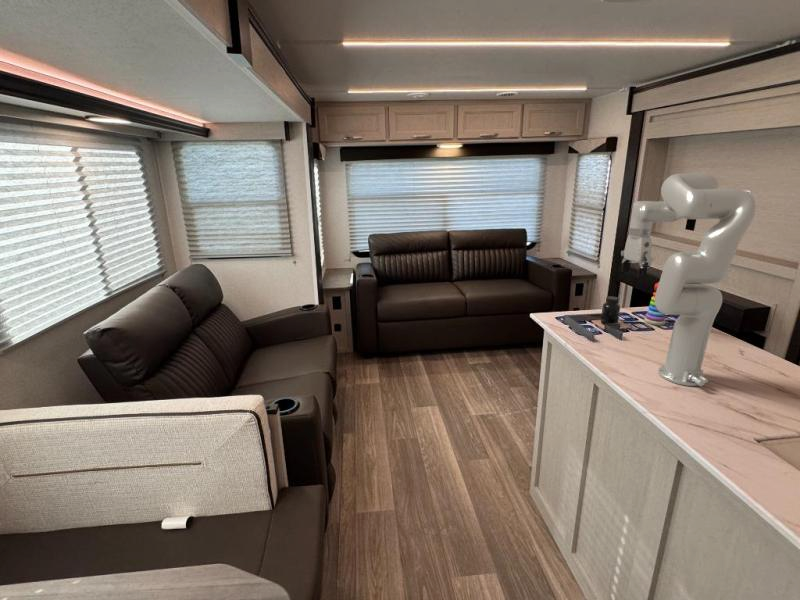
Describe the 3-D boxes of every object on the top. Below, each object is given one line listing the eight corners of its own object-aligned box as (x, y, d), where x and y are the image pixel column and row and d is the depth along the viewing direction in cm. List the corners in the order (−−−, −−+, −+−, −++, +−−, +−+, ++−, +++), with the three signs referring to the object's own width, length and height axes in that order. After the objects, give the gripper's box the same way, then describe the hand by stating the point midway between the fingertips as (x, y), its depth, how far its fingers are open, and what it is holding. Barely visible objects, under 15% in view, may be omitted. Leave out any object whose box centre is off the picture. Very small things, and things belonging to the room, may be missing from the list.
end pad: (630, 328, 173) (630, 327, 173) (604, 329, 172) (604, 328, 172) (616, 319, 183) (616, 318, 183) (591, 321, 182) (591, 320, 181)
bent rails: (634, 339, 162) (635, 332, 161) (591, 341, 160) (592, 335, 160) (601, 319, 184) (602, 313, 183) (563, 321, 182) (563, 315, 181)
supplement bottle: (612, 320, 180) (616, 295, 177) (620, 326, 174) (625, 300, 170) (597, 321, 180) (601, 295, 176) (605, 327, 174) (609, 300, 170)
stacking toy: (668, 326, 175) (677, 284, 169) (650, 326, 175) (658, 284, 169) (658, 319, 182) (666, 279, 176) (640, 319, 182) (647, 279, 177)
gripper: (664, 235, 153) (657, 279, 157) (633, 230, 169) (627, 270, 174) (646, 236, 152) (639, 280, 157) (616, 230, 168) (611, 270, 173)
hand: (633, 275), depth 165 cm, fingers open, 9 cm apart
